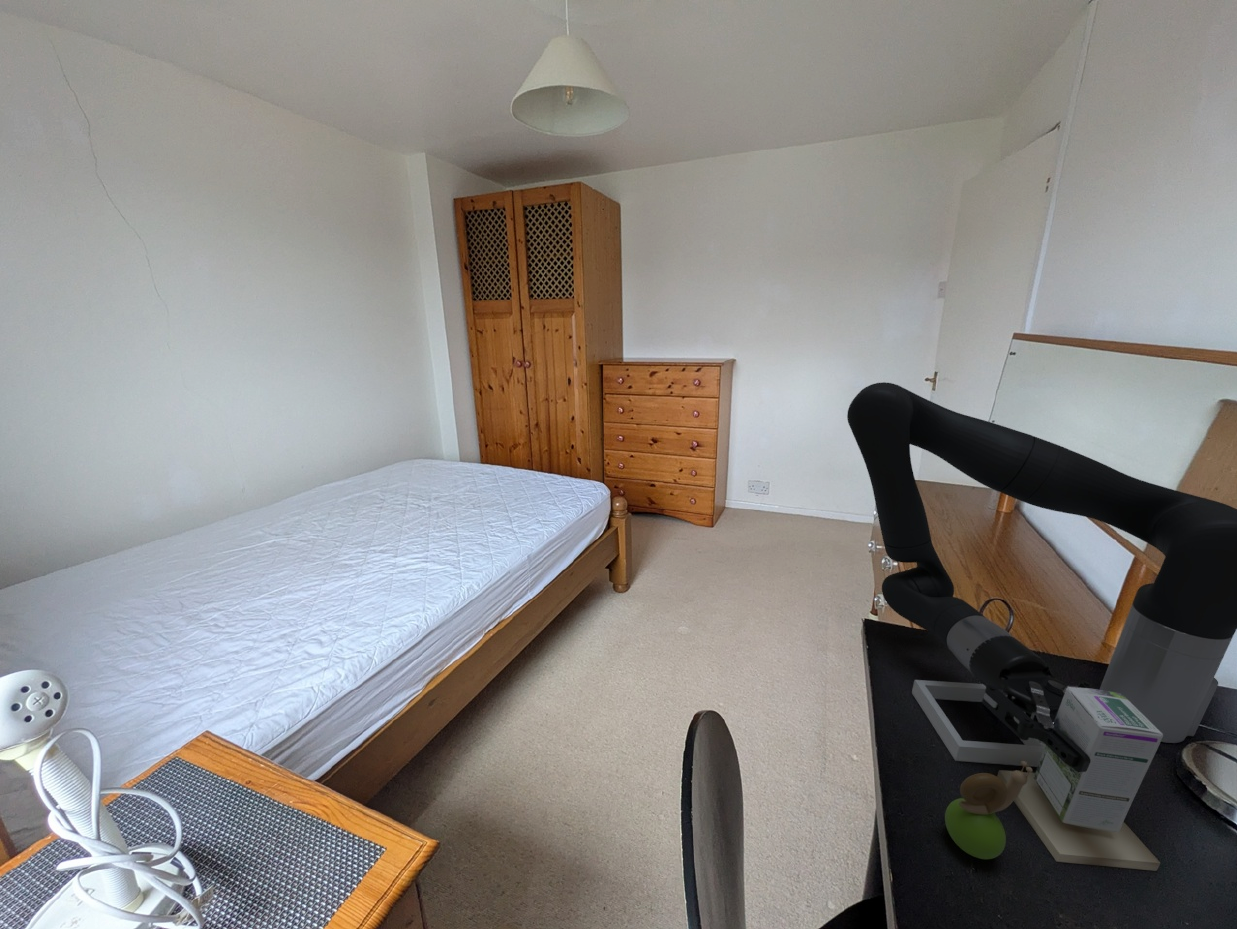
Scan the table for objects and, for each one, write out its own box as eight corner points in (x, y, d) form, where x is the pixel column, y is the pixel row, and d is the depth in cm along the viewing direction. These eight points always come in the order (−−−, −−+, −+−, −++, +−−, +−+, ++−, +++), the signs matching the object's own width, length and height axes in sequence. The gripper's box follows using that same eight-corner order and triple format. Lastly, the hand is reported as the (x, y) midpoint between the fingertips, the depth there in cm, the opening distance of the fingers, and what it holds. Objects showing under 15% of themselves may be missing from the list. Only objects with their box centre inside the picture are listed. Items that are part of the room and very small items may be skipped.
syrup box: (1121, 835, 53) (1170, 734, 48) (1059, 823, 54) (1101, 724, 49) (1084, 786, 58) (1126, 692, 54) (1029, 777, 59) (1065, 683, 55)
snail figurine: (1021, 872, 52) (1051, 789, 48) (960, 871, 52) (986, 788, 48) (984, 820, 57) (1010, 742, 53) (930, 820, 57) (951, 742, 53)
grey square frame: (992, 697, 74) (996, 684, 74) (1051, 768, 63) (1057, 753, 62) (911, 692, 76) (914, 679, 75) (955, 760, 64) (959, 746, 63)
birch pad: (1080, 783, 61) (1083, 776, 61) (1156, 870, 52) (1160, 862, 51) (996, 776, 62) (999, 769, 62) (1056, 861, 52) (1059, 853, 52)
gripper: (950, 636, 65) (1065, 741, 50) (1050, 631, 66) (1194, 734, 50) (938, 680, 68) (1045, 794, 52) (1035, 675, 69) (1168, 786, 53)
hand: (1118, 764), depth 51 cm, fingers closed on syrup box, 7 cm apart
